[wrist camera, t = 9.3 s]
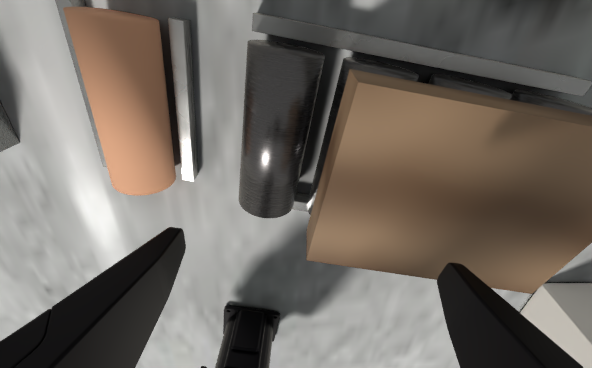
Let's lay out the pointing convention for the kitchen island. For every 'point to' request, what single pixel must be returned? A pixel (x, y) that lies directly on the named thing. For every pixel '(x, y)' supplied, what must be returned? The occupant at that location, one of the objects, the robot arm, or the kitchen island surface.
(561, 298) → the milk carton
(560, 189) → the slab
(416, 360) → the kitchen island surface
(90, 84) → the roller
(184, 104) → the track
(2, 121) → the block
